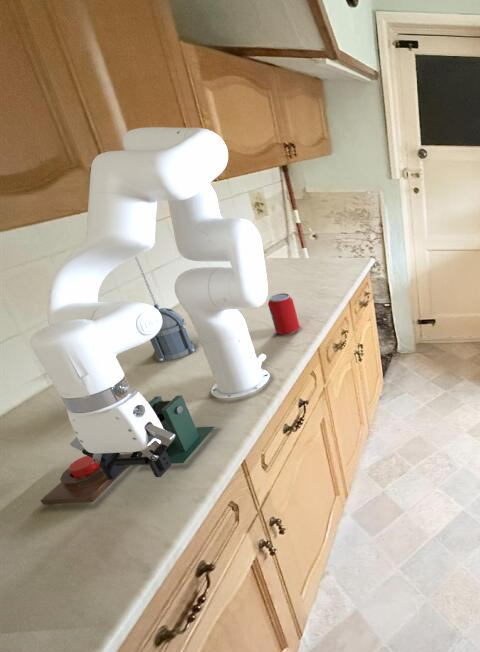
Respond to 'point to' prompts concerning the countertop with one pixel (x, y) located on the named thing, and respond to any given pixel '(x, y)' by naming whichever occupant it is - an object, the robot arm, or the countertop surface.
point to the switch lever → (136, 456)
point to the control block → (79, 487)
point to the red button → (83, 466)
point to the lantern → (170, 334)
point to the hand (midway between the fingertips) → (141, 471)
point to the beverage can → (283, 313)
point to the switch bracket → (180, 429)
